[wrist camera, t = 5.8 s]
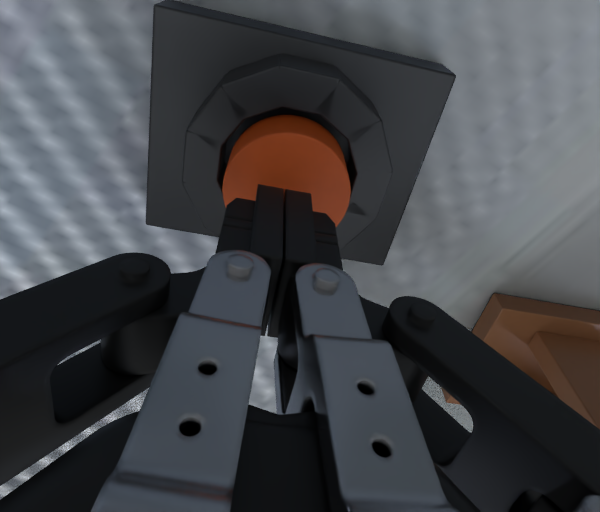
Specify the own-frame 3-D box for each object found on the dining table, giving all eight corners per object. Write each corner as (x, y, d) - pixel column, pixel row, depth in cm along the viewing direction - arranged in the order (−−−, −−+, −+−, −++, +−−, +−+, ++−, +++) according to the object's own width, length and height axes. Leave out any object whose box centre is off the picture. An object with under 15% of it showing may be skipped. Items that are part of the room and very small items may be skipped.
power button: (221, 212, 17) (215, 237, 15) (237, 102, 15) (231, 119, 13) (329, 231, 17) (332, 258, 16) (359, 127, 15) (366, 147, 14)
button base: (155, 205, 20) (132, 250, 17) (165, -2, 16) (137, 10, 13) (377, 245, 21) (391, 292, 18) (443, 64, 17) (475, 88, 14)
